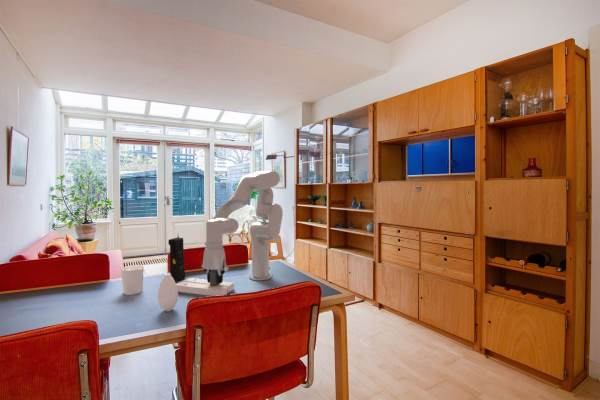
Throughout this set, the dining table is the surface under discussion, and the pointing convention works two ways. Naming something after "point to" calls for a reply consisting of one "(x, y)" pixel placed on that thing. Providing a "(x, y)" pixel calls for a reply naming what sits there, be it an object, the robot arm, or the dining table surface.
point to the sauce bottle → (167, 293)
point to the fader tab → (214, 277)
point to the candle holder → (132, 279)
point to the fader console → (203, 287)
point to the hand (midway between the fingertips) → (215, 282)
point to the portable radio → (177, 258)
